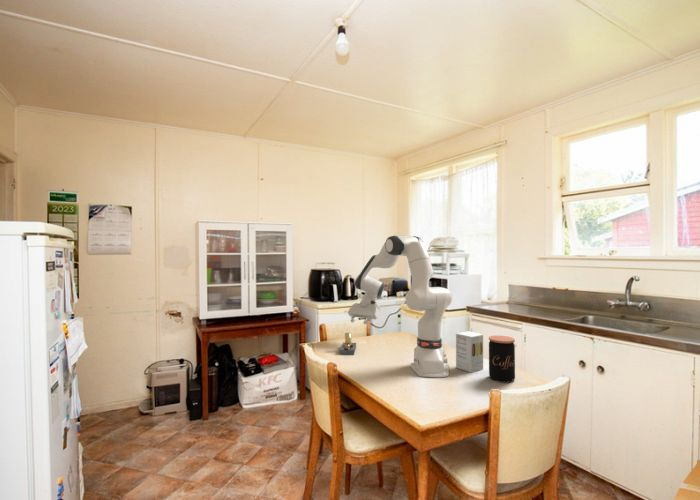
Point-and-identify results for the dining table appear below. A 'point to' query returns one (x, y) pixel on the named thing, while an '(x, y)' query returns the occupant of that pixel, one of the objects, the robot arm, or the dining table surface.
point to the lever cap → (348, 338)
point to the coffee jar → (502, 358)
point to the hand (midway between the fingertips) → (358, 322)
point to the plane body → (348, 349)
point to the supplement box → (469, 351)
